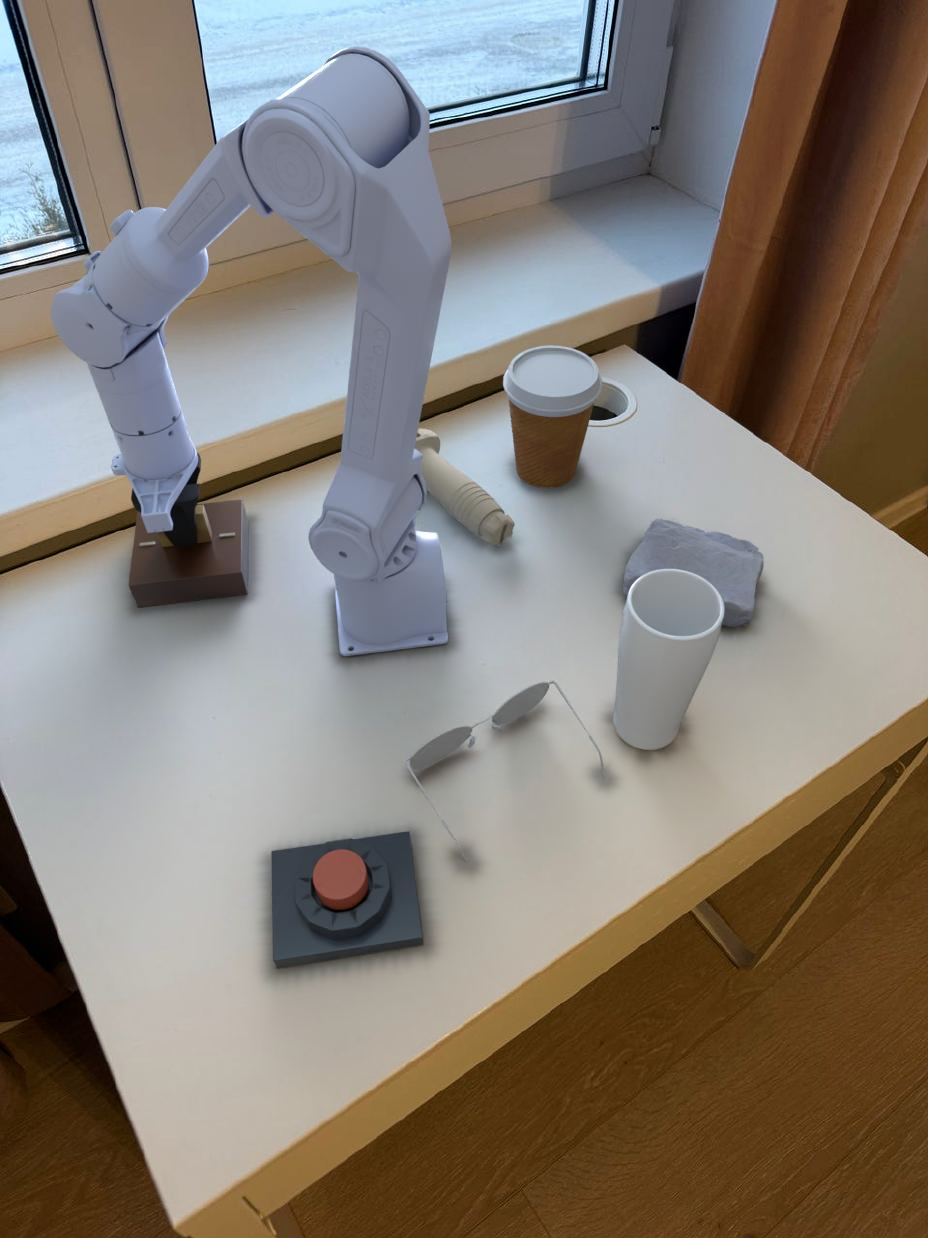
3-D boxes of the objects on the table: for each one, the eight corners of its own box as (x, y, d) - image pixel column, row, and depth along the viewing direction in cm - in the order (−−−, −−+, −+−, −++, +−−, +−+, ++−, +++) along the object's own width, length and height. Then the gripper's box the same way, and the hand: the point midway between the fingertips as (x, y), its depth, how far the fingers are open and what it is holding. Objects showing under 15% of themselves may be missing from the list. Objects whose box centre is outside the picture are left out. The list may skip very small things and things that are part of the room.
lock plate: (248, 521, 89) (242, 497, 87) (248, 594, 83) (241, 570, 80) (146, 533, 88) (136, 509, 86) (137, 607, 82) (127, 584, 79)
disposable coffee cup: (490, 448, 96) (492, 350, 87) (575, 434, 98) (585, 336, 89) (514, 506, 90) (518, 406, 81) (604, 490, 92) (617, 391, 83)
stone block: (639, 547, 89) (614, 601, 81) (650, 505, 86) (625, 558, 78) (758, 582, 86) (744, 642, 78) (774, 541, 83) (761, 599, 75)
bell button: (366, 857, 63) (364, 845, 61) (370, 906, 60) (368, 895, 59) (314, 864, 62) (311, 853, 61) (317, 914, 60) (313, 903, 59)
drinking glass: (634, 774, 70) (664, 654, 58) (587, 711, 74) (607, 587, 62) (704, 740, 72) (747, 617, 60) (654, 680, 76) (686, 554, 64)
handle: (473, 563, 85) (381, 477, 92) (522, 542, 89) (430, 461, 96) (483, 524, 82) (386, 438, 89) (533, 504, 85) (436, 422, 92)
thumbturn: (212, 532, 84) (203, 502, 81) (211, 541, 83) (202, 511, 80) (163, 537, 83) (152, 507, 81) (162, 547, 83) (151, 517, 80)
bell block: (410, 839, 66) (408, 820, 64) (423, 945, 61) (421, 928, 59) (274, 859, 65) (267, 840, 63) (276, 968, 60) (268, 952, 58)
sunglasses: (546, 701, 74) (556, 671, 70) (607, 782, 71) (621, 756, 67) (401, 780, 70) (403, 753, 65) (458, 871, 66) (464, 849, 62)
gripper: (104, 368, 77) (148, 489, 87) (83, 477, 68) (135, 598, 78) (187, 361, 78) (221, 481, 88) (178, 467, 68) (217, 588, 78)
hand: (186, 536), depth 83 cm, fingers closed on thumbturn
